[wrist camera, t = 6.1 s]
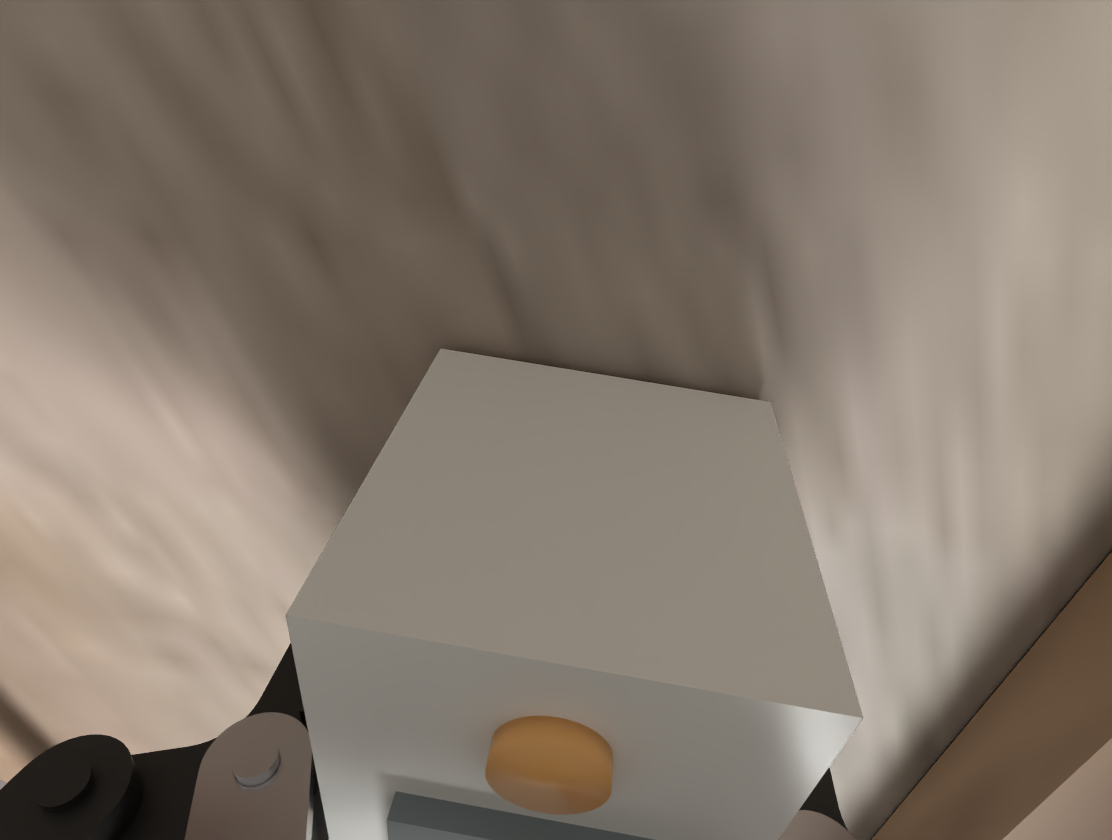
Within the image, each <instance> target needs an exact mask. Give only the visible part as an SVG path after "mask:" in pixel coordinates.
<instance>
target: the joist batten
mask: <svg viewBox="0 0 1112 840" xmlns="http://www.w3.org/2000/svg"><path fill="white" fill-rule="evenodd" d="M871 840H1112V552H1111V553H1110V554H1109V555H1108V556H1107V558H1106V559H1105V560H1104V561H1103V562H1102V564H1101V565H1100V566H1099V567H1098V568H1097V570H1096V571H1095V572H1094V573H1093V574H1092V576H1091V577H1090V578H1089V579H1088V580H1087V582H1086V583H1085V584H1084V585H1083V586H1082V588H1081V589H1080V590H1079V591H1078V592H1077V594H1076V595H1075V596H1074V597H1073V598H1072V600H1071V601H1070V602H1069V603H1068V604H1067V606H1066V607H1065V608H1064V609H1063V610H1062V612H1061V613H1060V614H1059V615H1058V616H1057V618H1056V619H1055V620H1054V621H1053V622H1052V624H1051V625H1050V626H1049V627H1048V628H1047V630H1046V631H1045V632H1044V633H1043V634H1042V636H1041V637H1040V638H1039V639H1038V640H1037V642H1036V643H1035V644H1034V645H1033V646H1032V648H1031V649H1030V650H1029V651H1028V652H1027V654H1026V655H1025V656H1024V657H1023V658H1022V660H1021V661H1020V662H1019V663H1018V664H1017V666H1016V667H1015V668H1014V669H1013V670H1012V672H1011V673H1010V674H1009V675H1008V676H1007V678H1006V679H1005V680H1004V681H1003V682H1002V684H1001V685H1000V686H999V687H998V688H997V690H996V691H995V692H994V693H993V694H992V696H991V697H990V698H989V699H988V700H987V702H986V703H985V704H984V705H983V706H982V708H981V709H980V710H979V711H978V712H977V714H976V715H975V716H974V717H973V718H972V720H971V721H970V722H969V723H968V724H967V726H966V727H965V728H964V729H963V730H962V732H961V733H960V734H959V735H958V736H957V738H956V739H955V740H954V741H953V742H952V744H951V745H950V746H949V747H948V748H947V750H946V751H945V752H944V753H943V754H942V755H941V757H940V758H939V759H938V760H937V761H936V763H935V764H934V765H933V766H932V767H931V769H930V770H929V771H928V772H927V773H926V775H925V776H924V777H923V778H922V779H921V781H920V782H919V783H918V784H917V785H916V787H915V788H914V789H913V790H912V791H911V793H910V794H909V795H908V796H907V797H906V799H905V800H904V801H903V802H902V803H901V805H900V806H899V807H898V808H897V809H896V811H895V812H894V813H893V814H892V815H891V817H890V818H889V819H888V820H887V821H886V823H885V824H884V825H883V826H882V827H881V829H880V830H879V831H878V832H877V833H876V835H875V836H874V837H873V838H872V839H871Z"/></svg>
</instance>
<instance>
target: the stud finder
mask: <svg viewBox="0 0 1112 840" xmlns="http://www.w3.org/2000/svg"><path fill="white" fill-rule="evenodd" d="M286 620H287V625H288V630H289V635H290V640H291V645H292V651H293V656H294V661H295V666H296V671H297V676H298V681H299V687H300V692H301V697H302V702H303V707H304V712H305V717H306V723H307V728H308V733H309V738H310V743H311V748H312V753H313V759H314V764H315V769H316V774H317V779H318V784H319V789H320V795H321V800H322V805H323V810H324V815H325V820H326V826H327V831H328V836H329V840H778V839H779V838H780V836H781V835H782V833H783V832H784V831H785V829H786V828H787V826H788V825H789V823H790V822H791V821H792V819H793V818H794V816H795V815H796V813H797V812H798V811H799V809H800V808H801V806H802V805H803V803H804V802H805V801H806V799H807V798H808V796H809V795H810V794H811V792H812V791H813V789H814V788H815V786H816V785H817V784H818V782H819V781H820V779H821V778H822V776H823V775H824V774H825V772H826V771H827V769H828V768H829V766H830V765H831V764H832V762H833V761H834V759H835V758H836V756H837V755H838V754H839V752H840V751H841V749H842V748H843V747H844V745H845V744H846V742H847V741H848V739H849V738H850V737H851V735H852V734H853V732H854V731H855V729H856V728H857V727H858V725H859V724H860V722H861V721H862V719H863V715H862V712H861V708H860V705H859V702H858V698H857V695H856V691H855V688H854V684H853V681H852V678H851V674H850V671H849V667H848V664H847V661H846V657H845V654H844V650H843V647H842V644H841V640H840V637H839V633H838V630H837V627H836V623H835V620H834V616H833V613H832V609H831V606H830V603H829V599H828V596H827V592H826V589H825V586H824V582H823V579H822V575H821V572H820V569H819V565H818V562H817V558H816V555H815V552H814V548H813V545H812V541H811V538H810V534H809V531H808V528H807V524H806V521H805V517H804V514H803V511H802V507H801V504H800V500H799V497H798V494H797V490H796V487H795V483H794V480H793V476H792V473H791V470H790V466H789V463H788V459H787V456H786V453H785V449H784V446H783V442H782V439H781V436H780V432H779V429H778V425H777V422H776V419H775V415H774V412H773V408H772V405H771V402H768V401H762V400H755V399H749V398H743V397H737V396H731V395H725V394H718V393H712V392H706V391H700V390H694V389H688V388H681V387H675V386H669V385H663V384H657V383H651V382H644V381H638V380H632V379H626V378H620V377H614V376H607V375H601V374H595V373H589V372H583V371H577V370H570V369H564V368H558V367H552V366H546V365H540V364H533V363H527V362H521V361H515V360H509V359H503V358H496V357H490V356H484V355H478V354H472V353H466V352H459V351H453V350H447V349H440V350H439V352H438V354H437V356H436V357H435V359H434V361H433V362H432V364H431V366H430V368H429V369H428V371H427V373H426V374H425V376H424V378H423V380H422V381H421V383H420V385H419V386H418V388H417V390H416V392H415V393H414V395H413V397H412V399H411V400H410V402H409V404H408V405H407V407H406V409H405V411H404V412H403V414H402V416H401V417H400V419H399V421H398V423H397V424H396V426H395V428H394V430H393V431H392V433H391V435H390V436H389V438H388V440H387V442H386V443H385V445H384V447H383V448H382V450H381V452H380V454H379V455H378V457H377V459H376V460H375V462H374V464H373V466H372V467H371V469H370V471H369V473H368V474H367V476H366V478H365V479H364V481H363V483H362V485H361V486H360V488H359V490H358V491H357V493H356V495H355V497H354V498H353V500H352V502H351V504H350V505H349V507H348V509H347V510H346V512H345V514H344V516H343V517H342V519H341V521H340V522H339V524H338V526H337V528H336V529H335V531H334V533H333V534H332V536H331V538H330V540H329V541H328V543H327V545H326V547H325V548H324V550H323V552H322V553H321V555H320V557H319V559H318V560H317V562H316V564H315V565H314V567H313V569H312V571H311V572H310V574H309V576H308V578H307V579H306V581H305V583H304V584H303V586H302V588H301V590H300V591H299V593H298V595H297V596H296V598H295V600H294V602H293V603H292V605H291V607H290V608H289V610H288V612H287V614H286Z"/></svg>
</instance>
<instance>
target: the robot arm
mask: <svg viewBox="0 0 1112 840" xmlns="http://www.w3.org/2000/svg"><path fill="white" fill-rule="evenodd" d="M0 840H329V836H328V831H327V826H326V820H325V815H324V810H323V805H322V800H321V795H320V789H319V784H318V779H317V774H316V769H315V764H314V759H313V753H312V748H311V743H310V738H309V733H308V728H307V723H306V717H305V712H304V707H303V702H302V697H301V692H300V687H299V681H298V676H297V671H296V666H295V661H294V656H293V651H292V645H291V643H290V645H289V647H288V649H287V651H286V652H285V654H284V656H283V658H282V660H281V662H280V663H279V665H278V667H277V669H276V671H275V673H274V674H273V676H272V678H271V680H270V682H269V684H268V685H267V687H266V689H265V691H264V693H263V695H262V696H261V698H260V700H259V701H258V703H257V705H256V706H255V707H254V709H253V710H252V711H251V712H250V713H249V715H248V716H247V717H246V718H244V719H242V720H240V721H238V722H236V723H235V724H233V725H232V726H230V727H229V728H227V729H226V730H225V731H224V732H223V733H221V734H220V735H219V736H218V737H217V738H215V739H213V740H211V741H208V742H205V743H202V744H198V745H194V746H189V747H182V748H176V749H169V750H162V751H155V752H149V753H142V754H135V755H131V754H130V752H129V750H128V748H127V747H126V746H125V745H124V744H123V743H122V742H121V741H119V740H118V739H116V738H113V737H110V736H106V735H85V736H79V737H76V738H73V739H69V740H67V741H64V742H62V743H59V744H57V745H55V746H54V747H52V748H50V749H48V750H46V751H45V752H43V753H42V754H40V755H39V756H37V757H36V758H35V759H34V760H32V761H31V762H30V763H29V764H28V765H26V766H25V767H24V768H23V769H22V770H21V771H20V772H19V773H18V774H17V775H16V776H14V777H13V778H12V779H11V780H10V781H9V782H8V783H7V784H6V785H5V786H4V787H3V788H2V789H0ZM778 840H856V839H855V838H854V837H853V836H852V835H851V834H850V832H849V831H848V830H847V828H846V826H845V824H844V821H843V819H842V817H841V813H840V810H839V807H838V802H837V798H836V794H835V789H834V785H833V781H832V776H831V772H830V768H828V769H827V771H826V772H825V774H824V775H823V776H822V778H821V779H820V781H819V782H818V784H817V785H816V786H815V788H814V789H813V791H812V792H811V794H810V795H809V796H808V798H807V799H806V801H805V802H804V803H803V805H802V806H801V808H800V809H799V811H798V812H797V813H796V815H795V816H794V818H793V819H792V821H791V822H790V823H789V825H788V826H787V828H786V829H785V831H784V832H783V833H782V835H781V836H780V838H779V839H778Z"/></svg>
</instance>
